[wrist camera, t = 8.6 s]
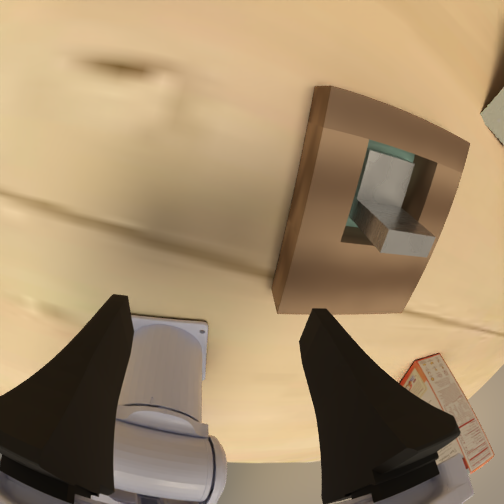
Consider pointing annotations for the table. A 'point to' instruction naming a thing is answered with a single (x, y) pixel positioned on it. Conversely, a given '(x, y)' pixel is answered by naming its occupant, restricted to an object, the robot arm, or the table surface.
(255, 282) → the table surface
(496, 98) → the grey slanted stand
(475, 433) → the cracker box
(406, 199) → the well block
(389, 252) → the grey block
